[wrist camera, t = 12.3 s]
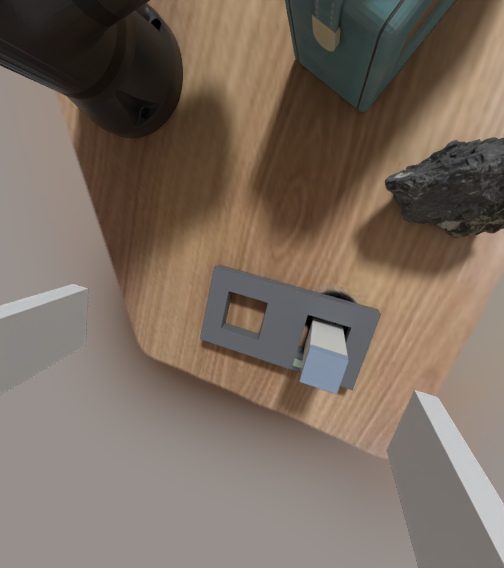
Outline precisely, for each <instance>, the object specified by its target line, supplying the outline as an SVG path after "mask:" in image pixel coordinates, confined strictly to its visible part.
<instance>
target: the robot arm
mask: <svg viewBox="0 0 504 568" xmlns="http://www.w3.org/2000/svg"><path fill="white" fill-rule="evenodd" d="M148 1H150V0H0V65H1V66H3V67H5V68H7V69H9V70H11V71H14V72H16V73H18V74H20V75H22V76H25V77H27V78H29V79H31V80H34V81H36V82H38V83H40V84H42V85H44V86H46V87H49V88H51V89H53V90H55V91H58V92H60V93H62V94H64V95H66V96H67V97H68V98H69V99H70V100H71V101H72V102H73V103H74V104H75V105H76V106H77V107H78V108H79V109H80V110H81V111H82V112H84V113H85V114H86V115H87V116H88V117H89V118H90V119H91V120H92V121H93V122H94V123H95V124H97V125H98V126H100V127H101V128H103V129H105V130H107V131H109V132H112V133H114V134H117V135H119V136H123V137H128V138H137V137H142V136H146V135H148V134H150V133H152V132H154V131H155V130H157V129H158V128H159V127H161V126H162V125H163V124H164V123H165V122H166V120H167V119H168V118H169V117H170V115H171V113H172V112H173V110H174V108H175V106H176V104H177V101H178V99H179V95H180V91H181V87H182V79H183V66H182V58H181V53H180V49H179V46H178V43H177V41H176V38H175V36H174V34H173V33H172V31H171V29H170V28H169V27H168V25H167V24H166V23H165V22H164V20H163V19H162V18H161V17H160V15H159V14H158V13H157V12H156V11H155V10H154V9H153V8H152V7H151V6H150V5H148V4H147V2H148ZM87 309H88V288H85V287H82V286H78V285H76V284H70V285H67V286H64V287H61V288H57V289H54V290H50V291H47V292H44V293H41V294H37V295H34V296H31V297H28V298H24V299H21V300H17V301H14V302H11V303H7V304H4V305H1V306H0V395H2V394H4V393H5V392H7V391H8V390H11V389H12V388H14V387H16V386H17V385H19V384H21V383H22V382H24V381H26V380H28V379H29V378H31V377H33V376H35V375H36V374H38V373H40V372H41V371H43V370H45V369H47V368H48V367H50V366H52V365H53V364H55V363H57V362H59V361H60V360H62V359H64V358H65V357H67V356H69V355H70V354H72V353H74V352H76V351H77V350H79V349H81V348H82V347H84V346H86V330H87ZM387 454H388V457H389V461H390V465H391V469H392V472H393V476H394V480H395V483H396V486H397V491H398V494H399V498H400V502H401V505H402V509H403V513H404V516H405V520H406V524H407V528H408V531H409V535H410V538H411V542H412V546H413V550H414V553H415V557H416V561H417V565H418V568H504V504H503V502H502V500H501V499H500V497H499V496H498V494H497V492H496V491H495V489H494V488H493V486H492V485H491V483H490V481H489V479H488V478H487V476H486V475H485V473H484V471H483V470H482V468H481V466H480V465H479V463H478V462H477V460H476V458H475V457H474V456H473V454H472V452H471V450H470V449H469V447H468V445H467V444H466V442H465V441H464V439H463V437H462V436H461V434H460V433H459V431H458V429H457V428H456V426H455V424H454V423H453V421H452V420H451V418H450V416H449V415H448V413H447V412H446V410H445V408H444V407H443V405H442V403H441V402H440V400H439V399H438V397H435V396H432V395H429V394H426V393H422V392H419V391H416V390H414V392H413V394H412V396H411V399H410V401H409V403H408V405H407V407H406V409H405V412H404V414H403V416H402V418H401V420H400V422H399V425H398V427H397V429H396V431H395V433H394V436H393V438H392V440H391V442H390V444H389V446H388V449H387Z"/></svg>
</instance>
